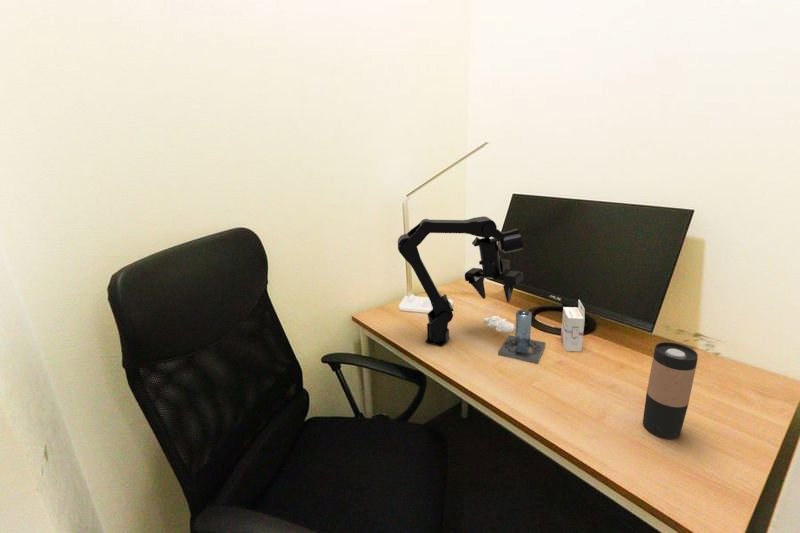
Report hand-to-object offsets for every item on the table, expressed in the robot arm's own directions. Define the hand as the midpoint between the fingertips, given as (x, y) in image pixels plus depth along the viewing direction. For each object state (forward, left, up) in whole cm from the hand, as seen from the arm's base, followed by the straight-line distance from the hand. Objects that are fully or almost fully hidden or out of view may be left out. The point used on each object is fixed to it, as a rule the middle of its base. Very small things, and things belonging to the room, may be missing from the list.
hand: (496, 300), depth 126 cm
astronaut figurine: (-1, +10, -15) cm, 18 cm away
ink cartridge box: (+23, +6, -14) cm, 28 cm away
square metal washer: (+10, -4, -14) cm, 18 cm away
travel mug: (+46, -25, -14) cm, 55 cm away
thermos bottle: (+10, -4, -14) cm, 18 cm away
